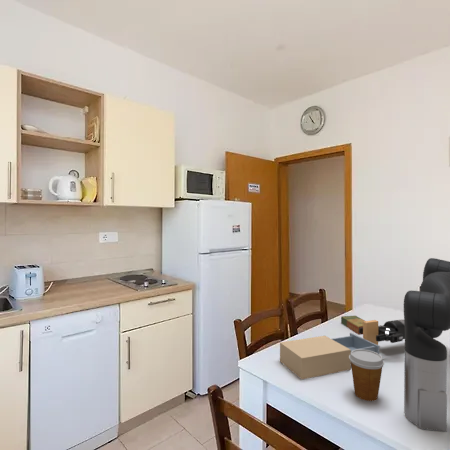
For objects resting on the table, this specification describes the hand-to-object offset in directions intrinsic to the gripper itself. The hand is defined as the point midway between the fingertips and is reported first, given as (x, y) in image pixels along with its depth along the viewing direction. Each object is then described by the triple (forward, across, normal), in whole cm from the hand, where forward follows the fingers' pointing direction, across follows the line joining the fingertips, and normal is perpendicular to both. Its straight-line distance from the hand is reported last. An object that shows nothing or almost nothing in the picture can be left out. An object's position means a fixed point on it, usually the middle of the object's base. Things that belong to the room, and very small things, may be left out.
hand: (367, 334), depth 118 cm
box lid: (+25, 0, +8) cm, 26 cm away
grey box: (+9, 0, +7) cm, 11 cm away
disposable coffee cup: (+22, +21, +8) cm, 32 cm away
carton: (-19, -25, +9) cm, 33 cm away
